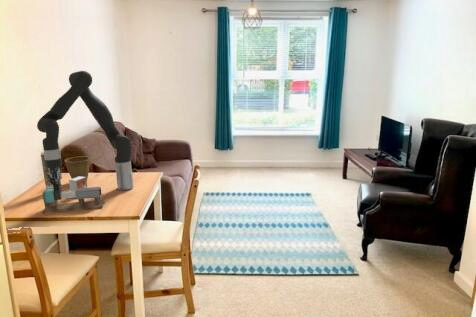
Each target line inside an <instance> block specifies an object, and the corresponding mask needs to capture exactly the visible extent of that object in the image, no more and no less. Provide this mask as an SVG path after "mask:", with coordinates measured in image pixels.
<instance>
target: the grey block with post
mask: <svg viewBox="0 0 476 317" xmlns="http://www.w3.org/2000/svg"><path fill="white" fill-rule="evenodd" d="M58 187H59V190H58V191H54V199H55V200H58V201H61V200H62V199H72V198H76V196H75V191H70V190H68V191H67V190H64V191H63V189H62V183H61V181H60V180H58ZM53 190H54V187H53Z"/></svg>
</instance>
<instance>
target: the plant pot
mask: <svg viewBox="0 0 476 317" xmlns="http://www.w3.org/2000/svg"><path fill="white" fill-rule="evenodd" d="M90 160H91V159H90V157H89V156H85V155H84V156H81V155H80V156H73V157H69V158H65V159H64V163H65V166H66V169H67V172H68V174H69V176H70V178H71V179H73V178H76V177H78V176H81V177H86V180H87V181H88V177H89V173H90Z"/></svg>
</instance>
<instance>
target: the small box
mask: <svg viewBox="0 0 476 317" xmlns="http://www.w3.org/2000/svg"><path fill="white" fill-rule="evenodd" d="M68 183H69V191H75V190H76V189H77V188H88V179H87V180H86V177H81V176H78V177H76V178H73V179H72V178H71V179H68Z"/></svg>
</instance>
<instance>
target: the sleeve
mask: <svg viewBox="0 0 476 317" xmlns="http://www.w3.org/2000/svg"><path fill="white" fill-rule="evenodd" d="M75 196H76V197H75V200H78V199H84V200H85V199H94V198H100V199H101V197H102V188H101V186H94V187H93V186H92V187H87V188H77V189H76V190H75Z"/></svg>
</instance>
